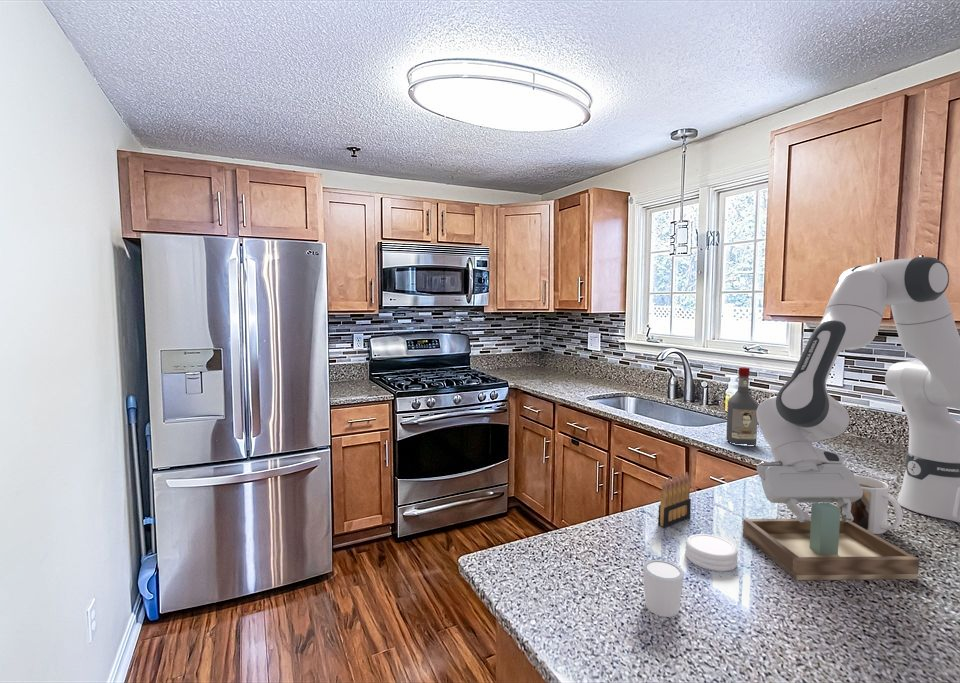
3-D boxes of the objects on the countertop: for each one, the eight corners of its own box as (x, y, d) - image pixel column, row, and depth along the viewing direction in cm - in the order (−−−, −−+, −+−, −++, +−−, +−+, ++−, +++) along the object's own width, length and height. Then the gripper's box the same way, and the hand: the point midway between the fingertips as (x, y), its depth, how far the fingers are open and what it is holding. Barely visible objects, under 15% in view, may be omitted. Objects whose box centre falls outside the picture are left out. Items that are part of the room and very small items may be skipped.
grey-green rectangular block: (827, 547, 105) (829, 502, 104) (837, 554, 102) (840, 508, 101) (809, 547, 105) (811, 503, 104) (819, 554, 102) (822, 508, 101)
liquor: (724, 439, 194) (727, 366, 192) (748, 440, 193) (751, 366, 191) (733, 446, 185) (736, 369, 183) (758, 447, 184) (761, 369, 182)
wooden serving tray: (844, 534, 113) (845, 518, 113) (917, 578, 95) (919, 559, 94) (742, 535, 112) (743, 519, 112) (796, 580, 94) (797, 560, 94)
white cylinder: (635, 596, 89) (636, 559, 88) (671, 594, 89) (672, 558, 89) (651, 620, 82) (653, 581, 81) (690, 618, 82) (691, 579, 82)
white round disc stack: (734, 578, 95) (734, 561, 95) (680, 563, 101) (681, 546, 100) (740, 557, 103) (740, 541, 103) (690, 543, 109) (691, 529, 109)
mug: (878, 520, 121) (881, 477, 120) (902, 542, 109) (906, 494, 109) (829, 514, 124) (831, 472, 123) (847, 534, 113) (850, 489, 112)
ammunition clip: (664, 528, 116) (665, 480, 115) (657, 525, 118) (659, 477, 117) (690, 518, 122) (692, 472, 121) (684, 515, 123) (685, 469, 123)
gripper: (760, 455, 109) (786, 516, 100) (848, 454, 109) (882, 515, 100) (747, 468, 113) (771, 526, 104) (832, 467, 114) (863, 526, 105)
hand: (827, 521), depth 102 cm, fingers open, 8 cm apart
